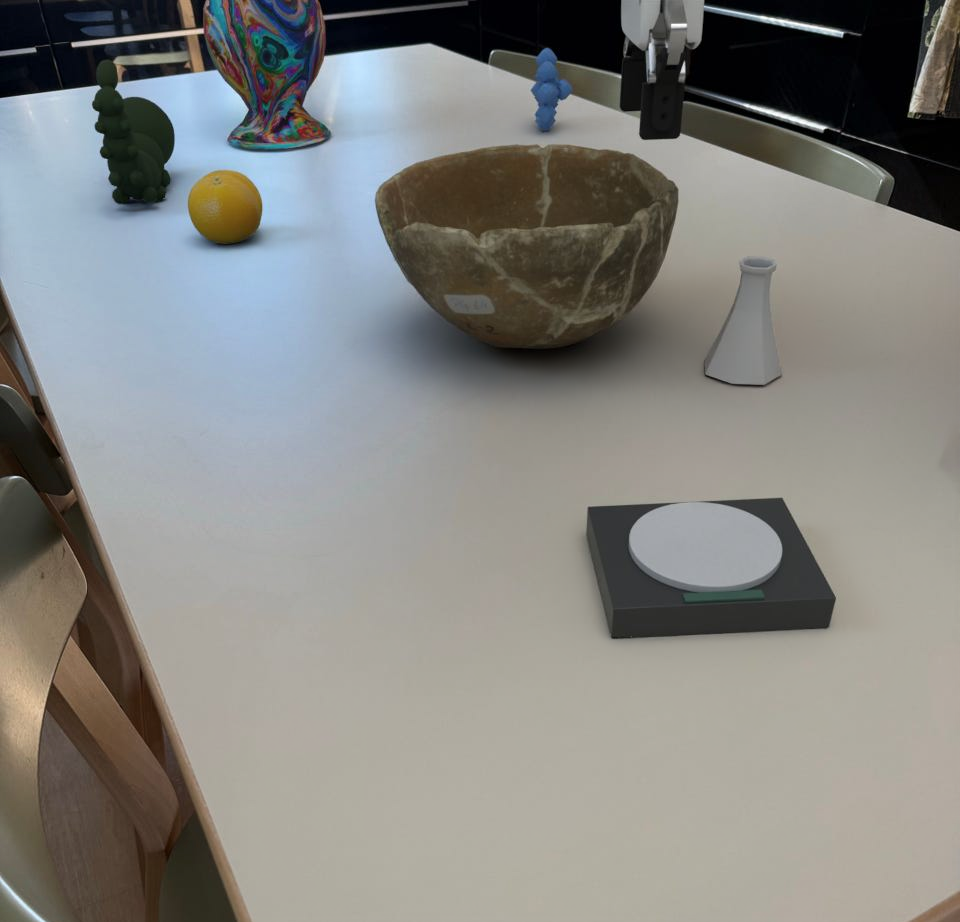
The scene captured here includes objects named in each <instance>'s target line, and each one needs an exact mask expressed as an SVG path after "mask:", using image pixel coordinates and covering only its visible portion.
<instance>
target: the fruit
mask: <svg viewBox="0 0 960 922" xmlns="http://www.w3.org/2000/svg"><path fill="white" fill-rule="evenodd" d="M263 207H264V206H263V200H262V196H261V193H260V191H259V189H258V187H257V186H256V185H255V183H254V182H253V181H252V180H251V179H250V178H249V177H247V175H245V174H243V173H241V172H239V171H235V170H229V169H219V170H214V171H211V172H209V173H207V174H205V175H204V176H202V177H201V178H200V179H199V180H197V181H196V182H195V183H194V184H193V186H192V187H191V188H190V191H189V193H188V197H187V209H188V215H189V218H190V221H191V223H192V225H193V226H194V228H195V230H196V231H197V232H198V233H199V234H200V236H203V237H204V238H205V239H207V240H209V241H211V242H214V243H217V244H222V245H223V244H224V245H225V244H236V243H239V242H242V241H244V240H247V239H249V238H250V237H252V236H253V235H254V234H255V233H256V231H258V230H259V228H260V225H261V220H262V216H263Z"/></svg>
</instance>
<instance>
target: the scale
mask: <svg viewBox="0 0 960 922" xmlns="http://www.w3.org/2000/svg"><path fill="white" fill-rule="evenodd" d="M586 513H587V514H586V531H585V534H586V539H587V544H588V548H589V553H590V556H591V560H592V565H593V569H594V573H595V576H596V581H597V585H598V589H599V594H600V598H601V601H602V605H603V610H604V615H605V618H606V622H608V623H607V626H608V630H609V635H610V634H611V635H610V638H611V637H618V638H617V639H621V638H620V637H629V638H645V637H644V636H649V637H666V636H667V635H669V636H686V635H706V634H707V635H708V634H725V633H726V634H727V632H728V633H745V632H746V633H747V632H748V633H749V632H767V631H786V630H787V631H788V630H801V629H802V630H803V629H805V630H808V629H825V628H830V624H831V620H832V617H833V612H834V608H835V604H836V601H837V597H836V595H835V592H833V589H832V587H831V585H830V584H829V582H828V580H827V579H826V576H825V575H824V573H823V570H822V569H821V567H820V565H819V563H818V561H817V559H816V558H815V556H814V554H813V552H812V550H811V548H810V546H809V545H808V543H807V541H806V539H805V537H804V535H803V534H802V531H801V530H800V528H799V526H798V524H797V522H796V521H795V519H794V516H793V515H792V513H791V511H790V510H789V507H788V505H787V503H786V502H785V500H784V498H783V497H767V498H766V497H764V498H745V499H727V500H726V499H725V500H724V499H723V500H702V501H683V502H682V501H680V502H660V503H659V502H658V503H638V504H637V503H636V504H615V505H598V506H597V505H596V506H588V507H587V512H586ZM703 633H704V634H703ZM683 634H685V635H683ZM662 635H664V636H662ZM631 636H632V637H631ZM639 636H640V637H639Z"/></svg>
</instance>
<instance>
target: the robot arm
mask: <svg viewBox="0 0 960 922" xmlns="http://www.w3.org/2000/svg"><path fill="white" fill-rule="evenodd" d="M620 2H621V3H620V4H621V5H620V21H621V24H620V25H621V29H622V32H623V34H624V35H625V37H624V42H623V58H622V59H621V71H620V72H621V77H620V91H619V109H620V110H621V111H622V112H625V113H627V112H640V114H639V116H640V117H639V130H638V135H639V137H640V139H641V140H643V141H656V140H676V139H678V138H680V136H681V131H682V130H681V129H682V120H683V110H684V100H685V99H684V98H685V90H686V89H685V87H686V86H685V85H686V76H687V75H686V72H687V71H686V61H687V51H686V50H685V47H686V48H688V50H695V49H697V48H698V47H699V45H700V44H701V42H702V36H703V24H704V11H705V10H704V9H705V0H621V1H620Z"/></svg>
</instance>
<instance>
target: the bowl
mask: <svg viewBox="0 0 960 922" xmlns="http://www.w3.org/2000/svg"><path fill="white" fill-rule="evenodd" d="M374 195H375V197H374V205H375V210H376V215H377V220H378V223H379V225H380V228H381V231H382V233H383V236H384V239H385V242H386V244H387V246H388V248H389V251H390V252H391V255H392V257H393V258H394V260H395V262H396V264H397V266H398V267H399V269H400V271H401V273H402V275H403V276H404V277H405V279H406V280H407V281H406V282H407V283H409V284H410V285H411V286H412V287H413V288H414V289H415V291H416V292H417V293H418V295H419V296H420V297H421V298H422V300H424V302H426V303H427V304H428V305H429V306H430V307H431V308H432V309H433V311H435V313H437V314H438V315H439V316H441V317H442V318H443V319H444V320H445V321H447V322H448V323H450V324H451V325H452V326H454V327H455V328H456V329H458V330H459V331H462V333H465V334H467V335H468V336H470V337H472V338H474V339H476V340H478V341H480V342H482V343H484V344H486V345H489V346H493V347H495V348H513V349H514V348H518V349H519V348H521V349H538V350H541V349H542V350H543V349H557V348H561V347H566V346H570V345H575V344H577V343H579V342H582V341H584V340H586V339H589V338H591V337H592V336H594V335H596V334H599V333H600V332H602V331H605V330H606V329H609V328H610V327H611V326H613V325H614V324H615V323H617V322H619V321H620V320H622V319H624V318H625V317H626V316H627V315H628V314H629V313H630V312H631V311H632V310H633V309H634V308H635V307H636V306H637V305H638V304H639V303H640V301H641V300H643V299H642V298H643V297H644V296H645V295H646V293H647V292H648V291H649V289H650V288H651V286H652V285H653V283H654V281H655V280H656V278H657V277H658V274H659V273H660V270H661V268H662V265H663V264H664V262H665V259H666V255H667V251H668V248H669V245H670V242H671V237H672V234H673V231H674V226H675V224H676V218H677V213H678V207H679V188H678V186H677V185H676V183H675V182H674V180H671V179H669V178H668V177H667V176H666V175H665V174H663V172H661V171H660V170H658V169H657V168H655V167H654V166H653V165H651V164H650V163H648V162H647V161H646V160H645V159H643V158H640V157H638V156H636V155H635V154H634V153H631V152H622V151H619V150H615V149H614V150H613V149H605V148H603V149H597V148H592V147H586V146H579V145H574V144H562V143H561V144H560V143H559V144H558V143H552V144H547V145H546V146H544V147H541V146H540V145H539V144H507V145H506V144H505V145H498V146H497V145H496V146H488V147H482V148H477V149H473V150H469V151H461V152H456V153H451V154H444V155H441V156H436V157H433V158H428V159H425V160H422V161H418V162H415V163H413V164H411V165H409V166H407V167H405V168H403V169H401V171H398V172H397V173H395V174H394V175H392V176H391V177H390V178H388V179H387V180H385V181H383V182H382V183H381V184H380V186H379V187H378V188H377V190H376V192H375V194H374Z"/></svg>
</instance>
